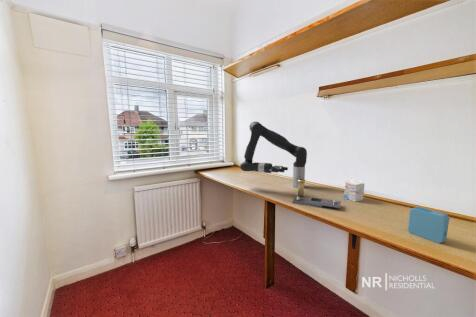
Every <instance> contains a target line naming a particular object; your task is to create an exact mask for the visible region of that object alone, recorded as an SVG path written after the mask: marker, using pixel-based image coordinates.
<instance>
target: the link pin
mask: <svg viewBox="0 0 476 317" xmlns="http://www.w3.org/2000/svg"><path fill="white" fill-rule="evenodd" d="M305 183H306V179H305V180H304V179H298V188H297V197H300V198H305V197H304V196H305Z"/></svg>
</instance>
